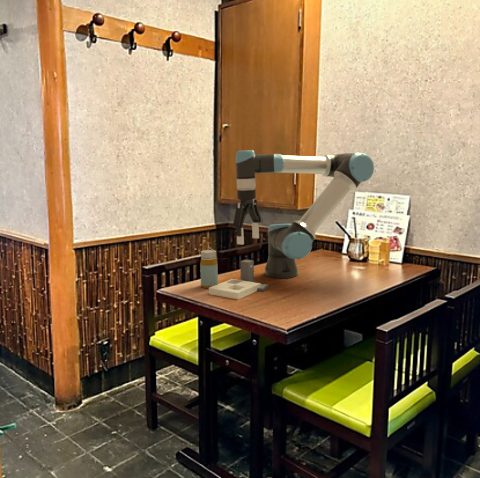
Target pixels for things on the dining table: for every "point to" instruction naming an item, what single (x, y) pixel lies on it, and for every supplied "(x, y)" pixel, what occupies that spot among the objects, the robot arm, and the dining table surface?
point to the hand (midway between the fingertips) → (248, 241)
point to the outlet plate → (234, 288)
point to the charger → (247, 270)
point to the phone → (262, 287)
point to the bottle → (208, 269)
